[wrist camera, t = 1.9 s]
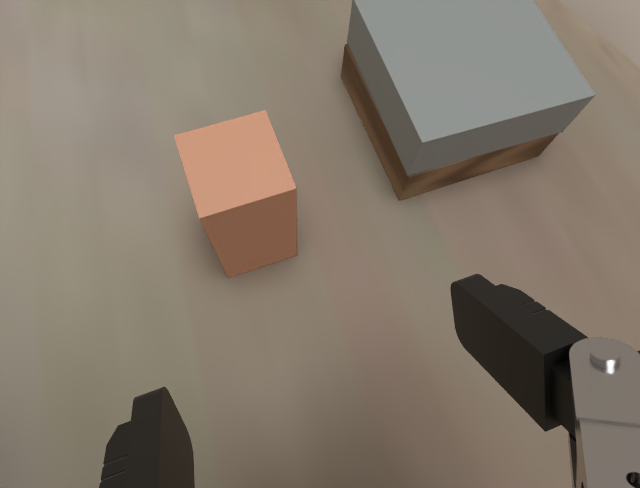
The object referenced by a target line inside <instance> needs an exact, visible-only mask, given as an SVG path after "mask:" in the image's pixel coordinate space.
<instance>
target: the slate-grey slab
mask: <svg viewBox="0 0 640 488" xmlns="http://www.w3.org/2000/svg"><path fill="white" fill-rule="evenodd" d="M347 43H348V45H349V48H350V50H351V52H352V54H353V56H354V59H355V61H356V63H357V65H358V68H359V70H360V72H361V74H362V76H363V79H364V81H365V83H366V85H367V87H368V90H369V92H370V94H371V96H372V98H373V101H374V103H375V105H376V107H377V109H378V112H379V114H380V116H381V118H382V121H383V123H384V125H385V127H386V129H387V132H388V134H389V136H390V138H391V140H392V143H393V145H394V147H395V149H396V151H397V154H398V156H399V158H400V160H401V163H402V165H403V167H404V169H405V171H406V174H407V176H409V175H413V174H416V173H420V172H423V171H427V170H430V169H434V168H437V167H441V166H444V165H448V164H451V163H455V162H458V161H462V160H465V159H469V158H472V157H476V156H479V155H483V154H486V153H490V152H493V151H497V150H500V149H504V148H507V147H511V146H514V145H518V144H521V143H525V142H528V141H532V140H536V139H539V138H543V137H546V136H550V135H553V134H557V133H560V132H563V130H564V129H565V128H566V127H567V126H568V125H569V124H570V123H571V122H572V121H573V119H574V118H575V117H576V116H577V115H578V114H579V113H580V112H581V111H582V109H583V108H584V107H585V106H586V105H587V104H588V103H589V102H590V101H591V100H592V98H593V97H594V96H595V94H594V92H593V91H592V89H591V88H590V86H589V84H588V83H587V81H586V80H585V78H584V77H583V75H582V74H581V72H580V71H579V69H578V68H577V66H576V64H575V63H574V61H573V60H572V58H571V57H570V55H569V54H568V52H567V51H566V49H565V48H564V46H563V45H562V43H561V41H560V40H559V38H558V37H557V35H556V34H555V32H554V31H553V29H552V28H551V26H550V25H549V23H548V21H547V20H546V18H545V17H544V15H543V14H542V12H541V11H540V9H539V8H538V6H537V5H536V3H535V2H534V0H352V8H351V16H350V24H349V31H348V39H347Z"/></svg>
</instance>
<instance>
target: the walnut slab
mask: <svg viewBox="0 0 640 488" xmlns="http://www.w3.org/2000/svg"><path fill="white" fill-rule="evenodd" d="M341 78H342V80H343V82H344V84H345V87H346V89H347V91H348V93H349V95H350V97H351V99H352V102H353V104H354V106H355V108H356V110H357V112H358V114H359V116H360V119H361V121H362V123H363V125H364V127H365V129H366V131H367V134H368V136H369V138H370V140H371V142H372V144H373V146H374V148H375V151H376V153H377V155H378V157H379V159H380V161H381V163H382V165H383V168H384V170H385V172H386V174H387V176H388V178H389V180H390V183H391V185H392V187H393V189H394V191H395V193H396V195H397V197H398V200H399V201H400V200H403V199H406V198H409V197H413V196H416V195H419V194H422V193H425V192H428V191H431V190H434V189H437V188H440V187H444V186H447V185H450V184H453V183H456V182H459V181H462V180H465V179H468V178H471V177H475V176H478V175H481V174H484V173H487V172H490V171H493V170H496V169H499V168H502V167H506V166H509V165H512V164H515V163H518V162H521V161H524V160H527V159H530V158H534V157H537V156H539V155H540V154H541V153H542V152H543V150H544V149H545V148H546V147H547V146H548V145H549V144H550V143H551V141H552V140H553V139H554V138H555V137H556V136H557V135H558V134H559V133H557V134H553V135H550V136H546V137H543V138H539V139H536V140H532V141H528V142H525V143H521V144H518V145H514V146H511V147H507V148H504V149H500V150H497V151H493V152H490V153H486V154H483V155H479V156H476V157H472V158H469V159H465V160H462V161H458V162H455V163H451V164H448V165H444V166H441V167H437V168H434V169H430V170H427V171H423V172H420V173H416V174H413V175H409V176H407V174H406V171H405V169H404V167H403V165H402V163H401V160H400V158H399V156H398V154H397V151H396V149H395V147H394V145H393V143H392V140H391V138H390V136H389V134H388V132H387V129H386V127H385V125H384V123H383V121H382V118H381V116H380V114H379V112H378V109H377V107H376V105H375V103H374V101H373V98H372V96H371V94H370V92H369V90H368V87H367V85H366V83H365V81H364V79H363V76H362V74H361V72H360V70H359V68H358V65H357V63H356V61H355V59H354V56H353V54H352V52H351V50H350V48H349V45H348V44H345V47H344V56H343V64H342V72H341Z"/></svg>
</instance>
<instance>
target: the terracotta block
mask: <svg viewBox="0 0 640 488" xmlns="http://www.w3.org/2000/svg"><path fill="white" fill-rule="evenodd" d="M174 137H175V141H176V144H177V147H178V150H179V154H180V157H181V160H182V163H183V167H184V170H185V173H186V177H187V180H188V183H189V186H190V190H191V193H192V196H193V199H194V203H195V206H196V209H197V212H198V216H199V219H200V221H201V223H202V225H203V227H204V229H205V231H206V233H207V235H208V237H209V239H210V241H211V243H212V246H213V248H214V250H215V252H216V254H217V256H218V258H219V260H220V262H221V264H222V266H223V268H224V270H225V272H226V275H227V277H228V278H230V277H233V276H236V275H239V274H242V273H245V272H248V271H251V270H254V269H257V268H260V267H263V266H266V265H269V264H272V263H275V262H278V261H281V260H284V259H287V258H290V257H293V256H296V255H297V197H296V186H295V184H294V181H293V178H292V176H291V173H290V171H289V168H288V166H287V163H286V161H285V158H284V156H283V153H282V151H281V148H280V145H279V143H278V140H277V138H276V135H275V133H274V130H273V128H272V125H271V123H270V120H269V118H268V115H267V112H266V110H264V111H261V112H257V113H253V114H250V115H246V116H243V117H239V118H235V119H232V120H228V121H225V122H221V123H217V124H214V125H210V126H207V127H203V128H199V129H196V130H192V131H189V132H185V133H181V134H178V135H174Z"/></svg>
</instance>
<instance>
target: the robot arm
mask: <svg viewBox="0 0 640 488" xmlns="http://www.w3.org/2000/svg"><path fill="white" fill-rule="evenodd" d="M451 297H452V306H453V314H454V322H455V329H456V333H457V336H458V338H459V340H460V342H461V344H462V345H463V347H464V348H465V349H466V350H467V351H468V352H469V353H470V354H471V355H472V356H473V357H474V358H475V359H476V360H477V362H478V363H479V364H480V365H481V366H482V367H483V368H484V369H485V370H486V371H487V372H488V373H489V374H490V375H491V376H492V377H493V378H494V379H495V380H496V381H497V382H498V383H499V384H500V385H501V386H502V387H503V388H504V389H505V390H506V392H507V393H508V394H509V395H510V396H511V397H512V398H513V399H514V400H515V401H516V402H517V403H518V404H519V405H520V406H521V407H522V408H523V409H524V410H525V411H526V412H527V413H528V414H529V415H530V416H531V417H532V418H533V419H534V420H535V422H536V423H537V424H538V425H539V426H540V427H541V428H542V429H543V430H544V431H545V432H546V431H548V430H550V429H553V428H555V427H557V426H560V425H562V426H563V427H564V428H565V429H566V430H567V431H568V443H569V454H570V465H571V476H572V487H573V488H640V351H636V350H635V349H634V348H632V347H631V346H629V345H627V344H626V343H623V342H621V341H618V340H615V339H610V338H603V337H593V338H588V337H587V336H585V335H584V334H582V333H581V332H579V331H578V330H577V329H575V328H574V327H572V326H571V325H569V324H568V323H567V322H565V321H564V320H562V319H561V318H559V317H558V316H557V315H555V314H554V313H552V312H551V311H549V310H546V308H545V307H544V306H542V305H541V304H539V303H538V302H535V301H534V299H532V298H531V297H529V296H528V295H527V294H525V293H524V292H522V291H521V290H519V289H515V288H512V287H509V286H506V285H503V284H500V285H497V286H495V285H494V284H492V283H491V282H490V281H488V280H487V279H485V278H484V277H483V276H481V275H480V274H475V275H472V276H469V277H466V278H464V279H461V280H458V281H455V282H453V283H452V284H451ZM103 464H104V467H103V469H102V475H101V483H100V486H99V488H195V485H194V461H193V449H192V444H191V440H190V436H189V433H188V431H187V428H186V426H185V424H184V422H183V420H182V418H181V416H180V414H179V412H178V410H177V408H176V406H175V404H174V401H173V399H172V397H171V395H170V393H169V391H168V390H167V388H165V387H162V388H160V389H157V390H154V391H151V392H149V393H146V394H143V395H140V396H138V397H135V398H134V401H133V408H132V416H131V421H129V422H126V423H124V424H121V425H118V427H117V428H116V430H115V432H114V433H113V435H112V437H111V438H110V440H109V442H108V444H107V446H106V452H105V458H104V463H103Z"/></svg>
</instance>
